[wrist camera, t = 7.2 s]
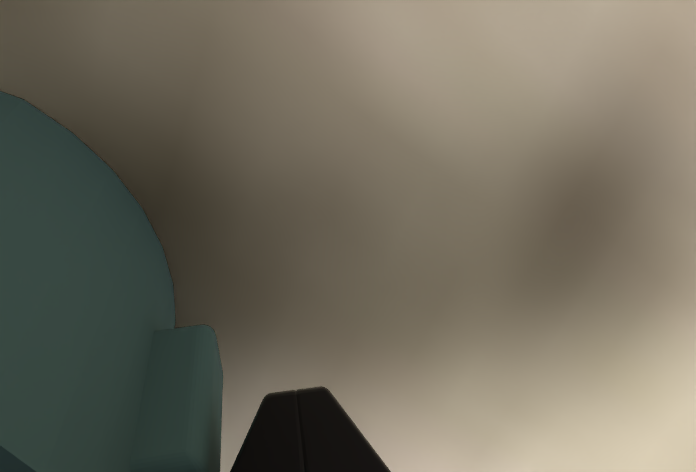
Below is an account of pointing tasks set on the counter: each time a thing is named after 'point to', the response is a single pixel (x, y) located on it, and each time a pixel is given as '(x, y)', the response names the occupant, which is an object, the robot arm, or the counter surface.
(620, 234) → the counter surface
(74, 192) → the bracket
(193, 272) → the counter surface
